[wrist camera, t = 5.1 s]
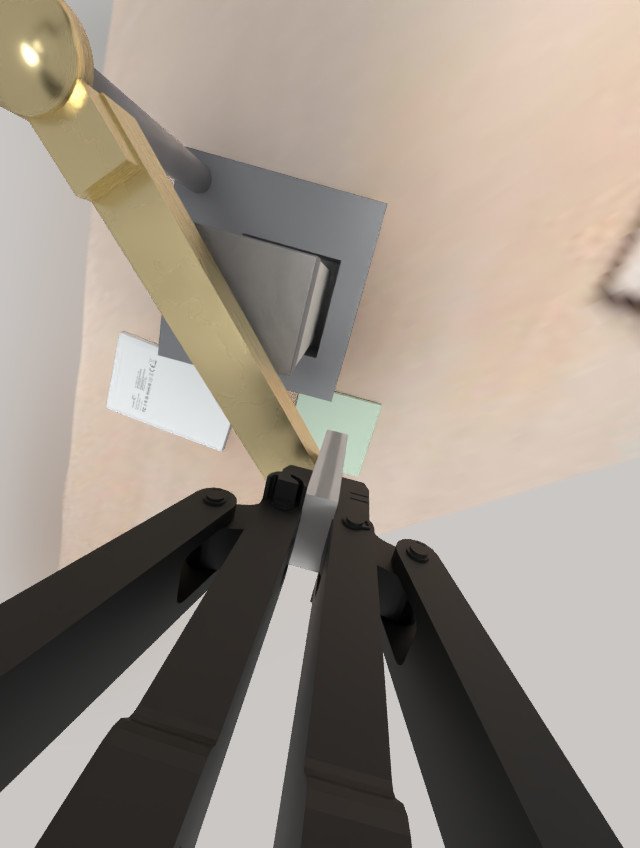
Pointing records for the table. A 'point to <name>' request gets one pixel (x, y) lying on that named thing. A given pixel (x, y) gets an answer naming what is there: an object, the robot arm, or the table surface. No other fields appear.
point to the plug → (272, 291)
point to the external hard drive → (164, 394)
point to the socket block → (274, 234)
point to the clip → (146, 223)
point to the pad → (341, 423)
